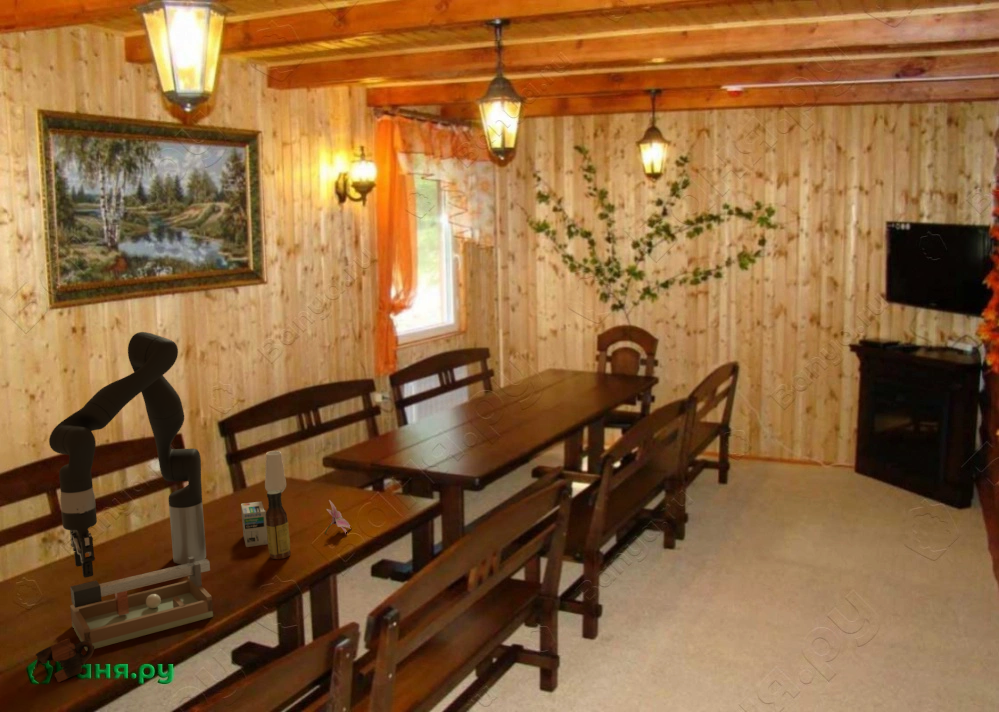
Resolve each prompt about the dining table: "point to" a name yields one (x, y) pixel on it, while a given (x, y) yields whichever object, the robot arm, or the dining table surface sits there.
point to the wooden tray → (143, 612)
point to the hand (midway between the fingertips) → (84, 570)
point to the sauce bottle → (277, 527)
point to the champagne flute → (274, 472)
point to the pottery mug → (66, 657)
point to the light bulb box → (254, 524)
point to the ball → (153, 601)
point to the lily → (337, 518)
